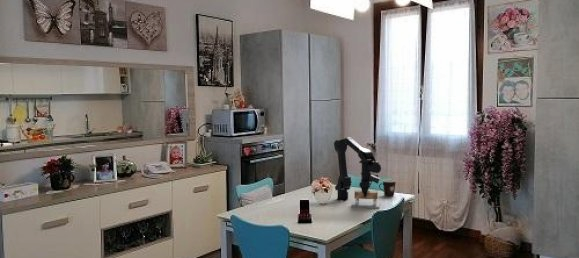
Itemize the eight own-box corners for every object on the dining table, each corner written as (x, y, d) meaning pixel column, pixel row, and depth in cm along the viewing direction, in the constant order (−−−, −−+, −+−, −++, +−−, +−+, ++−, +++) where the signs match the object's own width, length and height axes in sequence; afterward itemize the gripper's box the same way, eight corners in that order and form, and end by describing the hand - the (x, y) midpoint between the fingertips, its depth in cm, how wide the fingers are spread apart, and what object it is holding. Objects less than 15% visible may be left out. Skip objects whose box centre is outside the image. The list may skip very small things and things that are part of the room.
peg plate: (351, 206, 279) (351, 200, 278) (353, 203, 288) (353, 197, 288) (379, 208, 274) (379, 202, 274) (380, 204, 284) (380, 198, 284)
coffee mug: (394, 194, 314) (394, 179, 313) (396, 196, 305) (396, 182, 305) (377, 193, 315) (377, 179, 314) (379, 196, 306) (379, 182, 306)
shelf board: (354, 198, 280) (354, 192, 279) (354, 196, 285) (354, 190, 285) (377, 199, 277) (377, 192, 277) (377, 197, 282) (377, 191, 282)
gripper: (378, 174, 269) (377, 199, 270) (380, 169, 287) (380, 193, 288) (359, 173, 272) (359, 198, 273) (362, 168, 289) (362, 192, 291)
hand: (365, 195), depth 281 cm, fingers closed on shelf board, 5 cm apart
